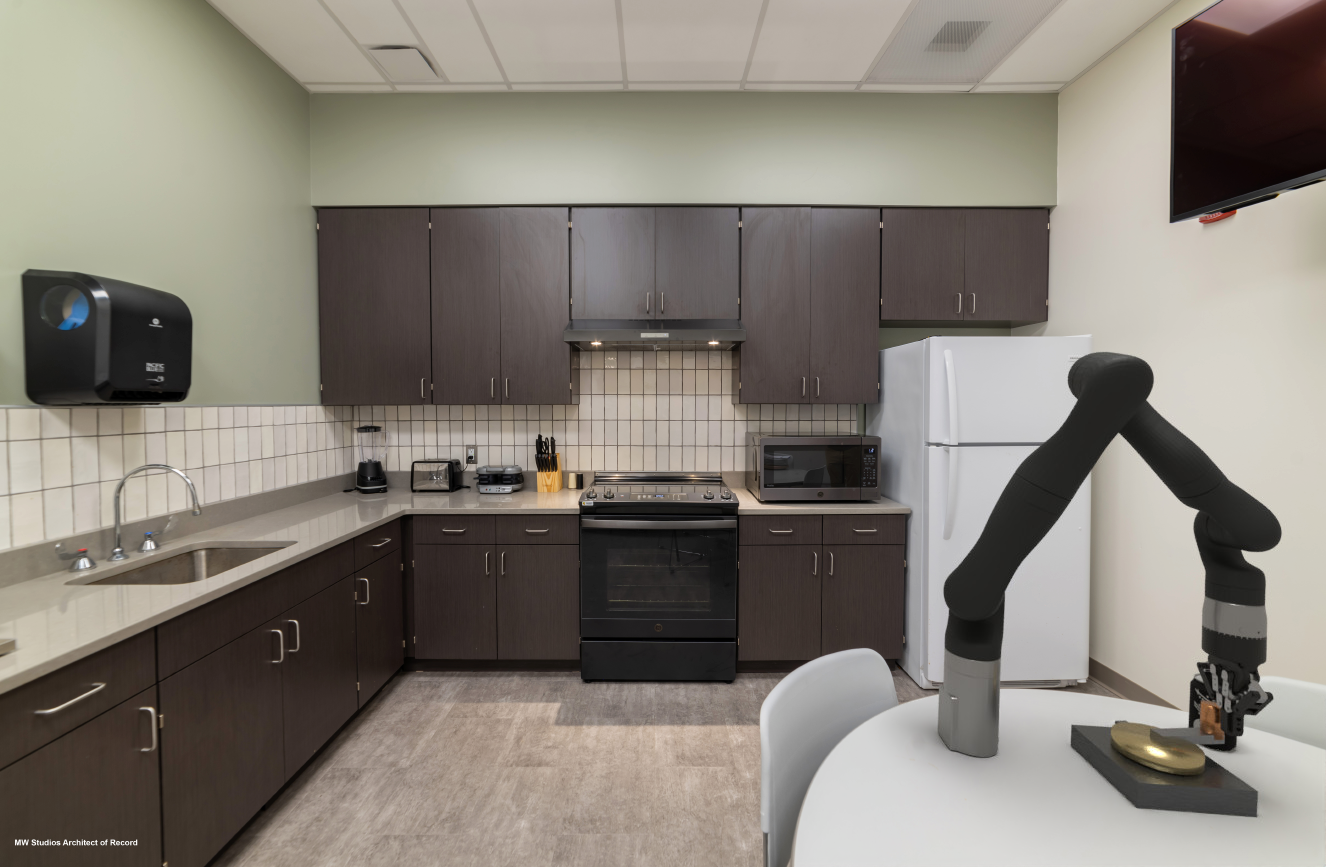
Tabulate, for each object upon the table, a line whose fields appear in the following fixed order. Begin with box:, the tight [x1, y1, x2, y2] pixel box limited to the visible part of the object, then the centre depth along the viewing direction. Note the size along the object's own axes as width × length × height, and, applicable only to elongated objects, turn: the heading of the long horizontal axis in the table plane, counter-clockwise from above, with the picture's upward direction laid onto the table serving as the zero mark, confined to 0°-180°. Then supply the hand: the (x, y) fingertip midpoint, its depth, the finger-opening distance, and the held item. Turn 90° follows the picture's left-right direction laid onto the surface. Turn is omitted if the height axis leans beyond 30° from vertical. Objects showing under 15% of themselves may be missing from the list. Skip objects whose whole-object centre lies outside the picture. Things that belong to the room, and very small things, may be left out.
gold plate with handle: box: [1110, 701, 1225, 775], centre depth 97 cm, size 18×13×8 cm
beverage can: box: [1187, 672, 1238, 752], centre depth 108 cm, size 7×7×12 cm
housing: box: [1070, 724, 1259, 818], centre depth 97 cm, size 17×17×4 cm
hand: (1231, 733), depth 94 cm, fingers closed
